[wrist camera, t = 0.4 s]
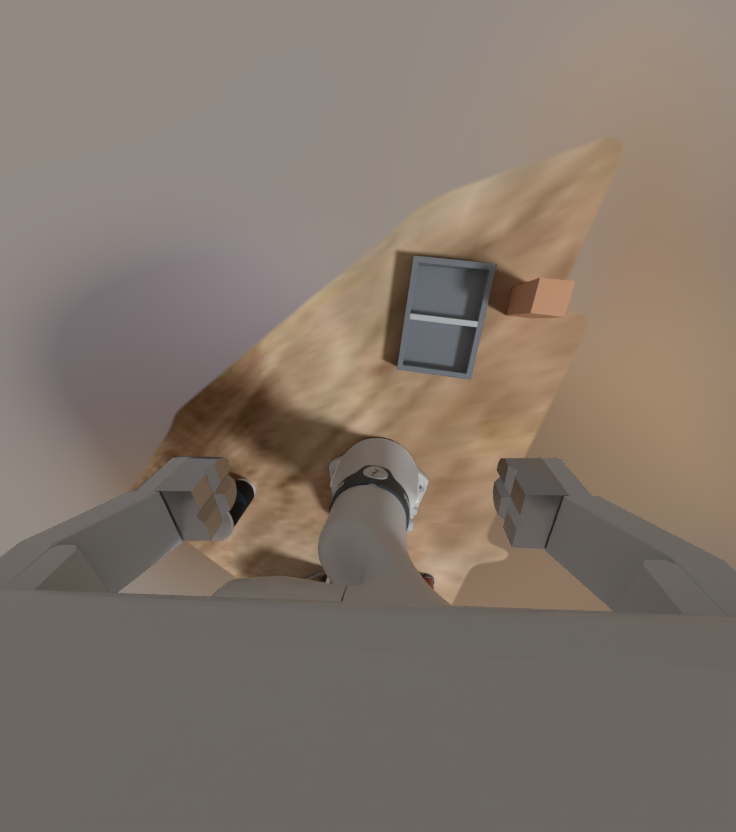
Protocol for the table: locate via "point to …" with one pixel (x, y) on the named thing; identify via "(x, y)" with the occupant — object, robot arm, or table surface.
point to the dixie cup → (236, 508)
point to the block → (540, 298)
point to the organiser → (444, 316)
